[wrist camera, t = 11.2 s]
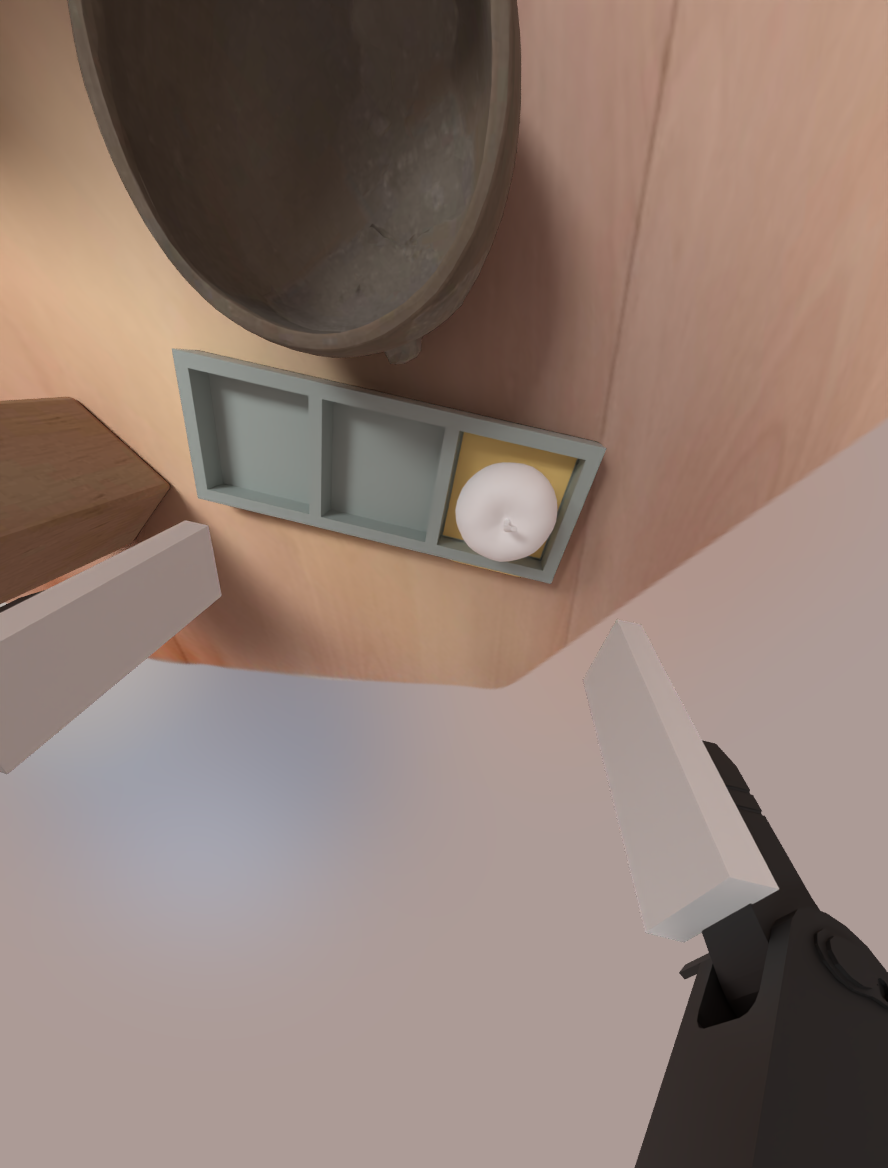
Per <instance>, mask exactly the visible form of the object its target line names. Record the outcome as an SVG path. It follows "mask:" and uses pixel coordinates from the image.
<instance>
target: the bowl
mask: <svg viewBox="0 0 888 1168" xmlns="http://www.w3.org/2000/svg"><path fill="white" fill-rule="evenodd" d="M67 1H68V6H69V12H70V18H71V24H72V30H73V36H74V42H75V47H76V52H77V57H78V61H79V65H80V69H81V73H82V77H83V81H84V85H85V88H86V91H87V94H88V97H89V99H90V102H91V105H92V108H93V111H94V114H95V117H96V120H97V122H98V125H99V128H100V131H101V134H102V136H103V139H104V141H105V144H106V146H107V149H108V151H109V154H110V156H111V159H112V161H113V163H114V165H115V167H116V169H117V171H118V173H119V175H120V178H121V180H122V182H123V184H124V186H125V188H126V190H127V192H128V193H129V195H130V197H131V199H132V201H133V203H134V205H135V206H136V208H137V210H138V212H139V214H140V215H141V217H142V219H143V221H144V223H145V224H146V226H147V227H148V229H149V231H150V232H151V234H152V235H153V237H154V238H155V240H156V241H157V243H158V244H159V245H160V247H161V248H162V250H163V251H164V253H165V254H166V256H167V257H168V259H169V260H170V261H171V262H172V264H173V265H174V266H175V267H176V269H177V270H178V271H179V272H180V274H181V275H182V276H183V277H184V278H185V279H186V280H187V281H188V283H189V284H190V285H191V286H192V287H193V288H194V289H195V290H196V291H197V292H198V293H199V294H200V295H201V296H202V297H203V298H204V299H205V300H206V301H207V302H209V303H210V304H211V305H212V306H213V307H214V308H215V309H216V310H218V311H219V312H221V313H222V314H223V315H225V316H226V317H228V318H229V319H230V320H232V321H234V322H235V323H237V324H238V325H240V326H241V327H243V328H244V329H246V330H248V331H250V332H252V333H254V334H256V335H258V336H260V337H262V338H264V339H266V340H268V341H270V342H273V343H276V344H279V345H281V346H284V347H287V348H290V349H293V350H296V351H300V352H304V353H309V354H313V355H317V356H326V357H338V358H346V357H359V356H366V355H371V354H375V353H380V352H385V354H386V356H387V358H388V360H389V363H390V364H403V363H406V362H408V361H410V360H412V359H413V358H415V357H417V356H418V354H419V353H420V351H421V349H422V346H421V339H422V337H423V336H424V335H426V334H427V333H429V332H431V331H432V330H434V329H435V328H436V327H438V326H439V325H440V324H442V323H443V322H444V321H446V320H447V319H448V318H449V317H450V316H451V315H452V314H453V313H454V312H455V311H456V310H457V309H458V308H459V307H460V306H462V303H463V301H464V299H465V297H466V296H467V294H468V292H469V291H470V289H471V287H472V286H473V284H474V282H475V281H476V279H477V277H478V276H479V274H480V271H481V269H482V266H483V264H484V262H485V259H486V257H487V255H488V253H489V251H490V248H491V246H492V244H493V241H494V238H495V235H496V233H497V230H498V227H499V224H500V222H501V219H502V216H503V212H504V208H505V204H506V200H507V196H508V192H509V188H510V184H511V181H512V175H513V169H514V163H515V157H516V151H517V142H518V133H519V123H520V108H521V45H520V29H519V18H518V8H517V0H67Z"/></svg>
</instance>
